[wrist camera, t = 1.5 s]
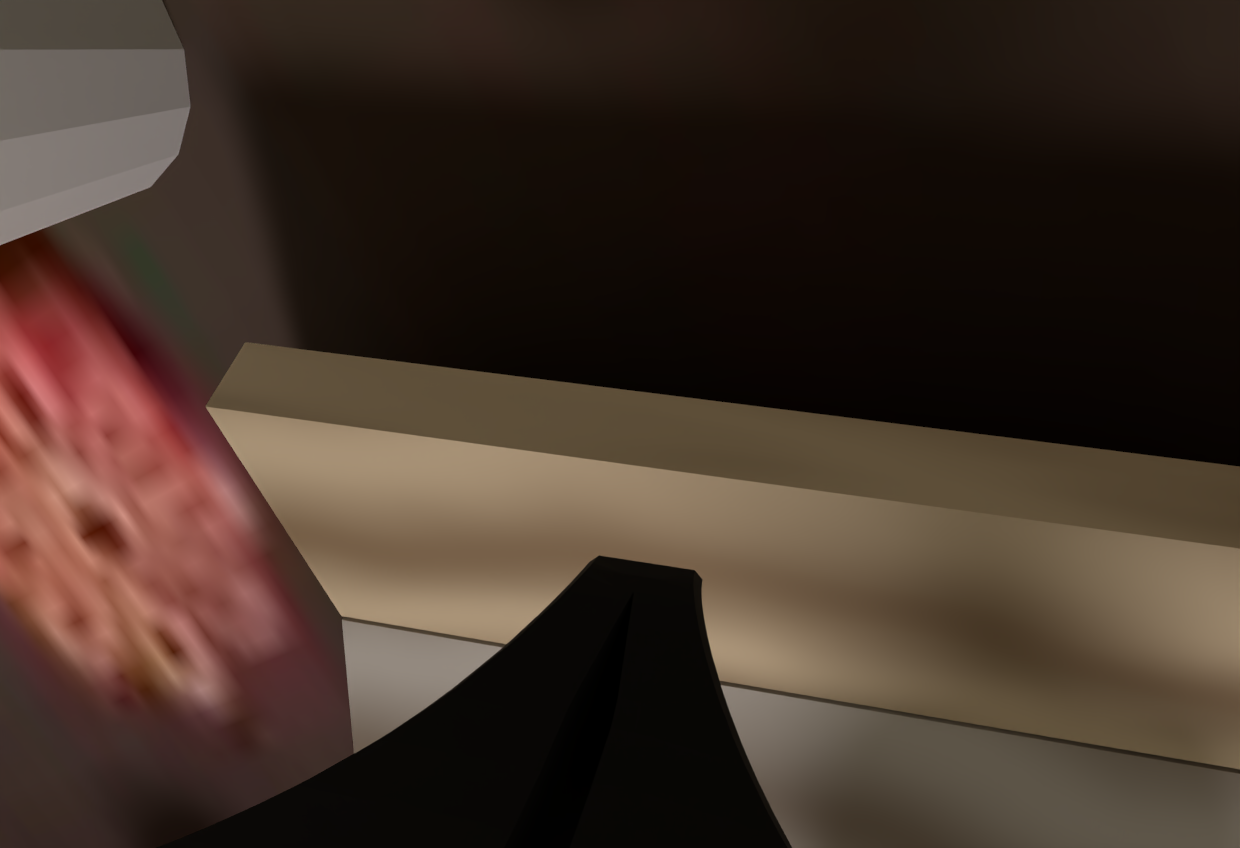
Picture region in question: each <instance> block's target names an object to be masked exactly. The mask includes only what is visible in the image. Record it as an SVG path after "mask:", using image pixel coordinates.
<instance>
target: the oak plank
mask: <svg viewBox="0 0 1240 848" xmlns="http://www.w3.org/2000/svg"><path fill="white" fill-rule="evenodd" d="M206 408H207V410H208V411H209V413H210V414H211V416H212V417H213V419H214V420H215V422H216V423H217V425H218V427H219V428H220V430H221V431H222V433H223V434H224V436H225V437H226V439H227V440H228V442H229V444H230V445H231V447H232V448H233V450H234V451H235V453H236V454H237V456H238V457H239V459H240V460H241V462H242V464H243V465H244V467H245V468H246V470H247V471H248V473H249V474H250V476H251V477H252V479H253V480H254V482H255V484H256V485H257V487H258V488H259V490H260V491H261V493H262V494H263V496H264V497H265V499H266V501H267V502H268V504H269V505H270V507H271V508H272V510H273V511H274V513H275V514H276V516H277V517H278V519H279V521H280V522H281V524H282V525H283V527H284V528H285V530H286V531H287V533H288V534H289V536H290V537H291V539H292V541H293V542H294V544H295V545H296V547H297V548H298V550H299V551H300V553H301V554H302V556H303V558H304V559H305V561H306V562H307V564H308V565H309V567H310V568H311V570H312V571H313V573H314V574H315V576H316V578H317V579H318V581H319V582H320V584H321V585H322V587H323V588H324V590H325V591H326V593H327V594H328V596H329V598H330V599H331V601H332V602H333V604H334V605H335V607H336V608H337V610H338V611H339V613H340V614H341V616H344V617H350V618H356V619H362V620H368V621H374V622H379V623H385V624H391V625H397V626H403V627H409V628H415V629H420V630H426V631H432V632H438V633H444V634H450V635H456V636H461V637H467V638H473V639H479V640H485V641H491V642H497V643H503V644H507V643H508V642H510V641H511V640H512V639H513V638H514V637H515V636H516V635H517V634H518V633H519V632H520V631H521V630H522V629H524V628H525V627H526V626H527V625H528V624H529V623H530V622H531V621H532V620H533V619H534V618H535V617H537V616H538V615H539V614H540V613H541V612H542V611H543V610H544V609H545V608H546V607H547V606H548V605H549V604H550V603H551V602H552V601H553V600H554V599H555V598H556V597H557V596H558V595H559V594H560V593H561V592H562V591H563V590H564V589H565V588H566V587H567V586H568V585H569V584H570V583H571V582H572V581H573V579H574V578H575V577H576V576H577V575H578V574H579V573H580V572H581V571H582V570H583V569H584V567H585V566H586V565H587V564H588V563H589V562H590V561H591V560H593V559H594V558H596V557H597V556H599V555H600V556H606V557H613V558H619V559H626V560H632V561H639V562H645V563H652V564H658V565H665V566H671V567H678V568H684V569H691V570H695V571H696V572H697V573H698V575H699V576H700V577H701V578H702V580H703V581H702V607H703V614H704V620H705V626H706V631H707V636H708V641H709V645H710V649H711V653H712V657H713V660H714V663H715V667H716V670H717V674H718V677H719V680H720V681H725V682H731V683H737V684H743V685H749V686H754V687H760V688H766V689H772V690H778V691H784V692H790V693H795V694H801V695H807V696H813V697H819V698H825V699H831V700H836V701H842V702H848V703H854V704H860V705H866V706H872V707H877V708H883V709H889V710H895V711H901V712H907V713H913V714H918V715H924V716H930V717H936V718H942V719H948V720H954V721H959V722H965V723H971V724H977V725H983V726H989V727H995V728H1000V729H1006V730H1012V731H1018V732H1024V733H1030V734H1036V735H1041V736H1047V737H1053V738H1059V739H1065V740H1071V741H1077V742H1082V743H1088V744H1094V745H1100V746H1106V747H1112V748H1118V749H1123V750H1129V751H1135V752H1141V753H1147V754H1153V755H1159V756H1164V757H1170V758H1176V759H1182V760H1188V761H1194V762H1200V763H1205V764H1211V765H1217V766H1223V767H1229V768H1235V769H1240V467H1239V466H1231V465H1223V464H1215V463H1207V462H1199V461H1191V460H1183V459H1175V458H1167V457H1159V456H1151V455H1143V454H1135V453H1127V452H1119V451H1111V450H1103V449H1095V448H1087V447H1079V446H1071V445H1063V444H1055V443H1047V442H1039V441H1031V440H1023V439H1015V438H1007V437H999V436H991V435H983V434H975V433H967V432H959V431H951V430H943V429H935V428H927V427H919V426H911V425H903V424H895V423H887V422H879V421H871V420H863V419H855V418H847V417H839V416H831V415H823V414H815V413H807V412H799V411H791V410H783V409H775V408H767V407H759V406H751V405H743V404H735V403H727V402H719V401H711V400H703V399H695V398H687V397H679V396H671V395H663V394H655V393H647V392H639V391H631V390H623V389H615V388H607V387H599V386H591V385H583V384H575V383H567V382H559V381H551V380H543V379H535V378H527V377H519V376H511V375H503V374H495V373H487V372H479V371H471V370H463V369H455V368H447V367H439V366H431V365H423V364H415V363H407V362H399V361H391V360H383V359H375V358H367V357H359V356H351V355H343V354H335V353H327V352H319V351H311V350H303V349H295V348H287V347H279V346H271V345H263V344H255V343H247V342H245V344H244V345H243V347H242V348H241V350H240V352H239V353H238V355H237V357H236V358H235V360H234V361H233V363H232V365H231V366H230V368H229V369H228V371H227V373H226V374H225V376H224V378H223V379H222V381H221V382H220V384H219V386H218V387H217V389H216V390H215V392H214V394H213V395H212V397H211V399H210V400H209V402H208V403H207V405H206Z"/></svg>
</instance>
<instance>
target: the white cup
mask: <svg viewBox="0 0 1240 848" xmlns="http://www.w3.org/2000/svg"><path fill="white" fill-rule="evenodd" d="M190 107H191V106H190V98H189V89H188V80H187V71H186V63H185V54H184V48H183V46H182V44H181V42H180V39H179V37H178V35H177V33H176V30H175V28H174V26H173V24H172V21H171V19H170V17H169V15H168V12H167V10H166V8H165V6H164V4H163V1H162V0H0V245H2V244H4V243H7V242H9V241H12V240H14V239H17V238H20V237H22V236H25V235H27V234H30V233H33V232H35V231H38V230H40V229H43V228H46V227H48V226H51V225H53V224H56V223H59V222H61V221H64V220H66V219H69V218H72V217H74V216H77V215H79V214H82V213H85V212H87V211H90V210H92V209H95V208H98V207H100V206H103V205H105V204H108V203H111V202H113V201H116V200H118V199H121V198H123V197H126V196H129V195H131V194H134V193H136V192H139V191H142V190H144V189H147V188H149V187H151V186H152V185H153V183H154V182H155V181H156V180H157V179H158V178H159V176H160V175H161V174H162V173H163V172H164V171H165V169H166V168H167V167H168V166H169V165H170V164H171V162H172V161H173V160H174V159H175V158H176V157H177V155H178V154H179V150H180V146H181V142H182V138H183V134H184V130H185V126H186V122H187V118H188V114H189V110H190Z"/></svg>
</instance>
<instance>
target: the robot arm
mask: <svg viewBox="0 0 1240 848" xmlns="http://www.w3.org/2000/svg"><path fill="white" fill-rule="evenodd" d="M702 581H703V580H702V578H701V577H700V576H699V575H698V573H697V572H696V571H695V570H691V569H684V568H678V567H671V566H665V565H658V564H652V563H645V562H639V561H632V560H626V559H619V558H613V557H606V556H600V555H599V556H597V557H596V558H594V559H593V560H591V561H590V562H589V563H588V564H587V565H586V566H585V567H584V569H583V570H582V571H581V572H580V573H579V574H578V575H577V576H576V577H575V578H574V579H573V581H572V582H571V583H570V584H569V585H568V586H567V587H566V588H565V589H564V590H563V591H562V592H561V593H560V594H559V595H558V596H557V597H556V598H555V599H554V600H553V601H552V602H551V603H550V604H549V605H548V606H547V607H546V608H545V609H544V610H543V611H542V612H541V613H540V614H539V615H538V616H537V617H535V618H534V619H533V620H532V621H531V622H530V623H529V624H528V625H527V626H526V627H525V628H524V629H522V630H521V631H520V632H519V633H518V634H517V635H516V636H515V637H514V638H513V639H512V640H511V641H510V642H508V643H507V644H506V645H505V646H504V647H503V648H502V649H500V650H499V651H498V652H497V653H496V654H494V655H493V656H492V657H491V658H489V659H488V660H487V661H486V662H485V663H483V664H482V665H481V666H480V667H478V668H477V669H476V670H475V671H474V672H472V673H471V674H470V675H469V676H467V677H466V678H465V679H464V680H462V681H461V682H460V683H459V684H458V685H456V686H455V687H454V688H452V689H451V690H450V691H448V692H447V693H446V694H444V695H443V696H442V697H440V698H439V699H438V700H436V701H435V702H433V703H432V704H431V705H429V706H428V707H426V708H425V709H424V710H422V711H421V712H419V713H418V714H416V715H415V716H413V717H412V718H410V719H409V720H407V721H406V722H404V723H403V724H401V725H400V726H398V727H397V728H396V729H394V730H393V731H391V732H389V733H388V734H386V735H385V736H383V737H381V738H380V739H378V740H376V741H375V742H373V743H371V744H370V745H368V746H366V747H365V748H363V749H361V750H360V751H358V752H356V753H354V754H353V755H351V756H349V757H347V758H346V759H344V760H342V761H340V762H339V763H337V764H335V765H333V766H331V767H330V768H328V769H326V770H324V771H323V772H321V773H319V774H317V775H315V776H314V777H312V778H310V779H308V780H306V781H304V782H302V783H301V784H299V785H297V786H295V787H293V788H291V789H289V790H286V791H284V792H282V793H280V794H278V795H276V796H274V797H272V798H270V799H268V800H266V801H264V802H262V803H260V804H258V805H256V806H253V807H251V808H249V809H247V810H245V811H242V812H240V813H238V814H236V815H234V816H231V817H229V818H227V819H225V820H223V821H220V822H218V823H216V824H214V825H211V826H209V827H207V828H204V829H202V830H200V831H197V832H195V833H193V834H190V835H188V836H185V837H183V838H181V839H178V840H175V841H173V842H170V843H168V844H165V845H162V846H160V847H157V848H792V846H791V844H790V843H789V841H788V839H787V837H786V835H785V833H784V831H783V829H782V828H781V826H780V824H779V822H778V820H777V818H776V816H775V814H774V813H773V811H772V809H771V807H770V804H769V802H768V800H767V798H766V796H765V794H764V792H763V790H762V788H761V786H760V784H759V782H758V780H757V777H756V775H755V773H754V771H753V769H752V766H751V764H750V762H749V759H748V757H747V755H746V752H745V750H744V747H743V745H742V743H741V740H740V737H739V735H738V732H737V730H736V727H735V724H734V722H733V719H732V717H731V714H730V711H729V708H728V705H727V702H726V699H725V697H724V694H723V691H722V687H721V684H720V680H719V677H718V674H717V670H716V667H715V663H714V660H713V657H712V653H711V649H710V645H709V641H708V636H707V631H706V626H705V620H704V614H703V607H702Z"/></svg>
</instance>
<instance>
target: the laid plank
mask: <svg viewBox="0 0 1240 848" xmlns="http://www.w3.org/2000/svg"><path fill="white" fill-rule="evenodd" d="M342 626H343V637H344V648H345V659H346V670H347V681H348V692H349V703H350V714H351V725H352V736H353V747H354V753H356V752H358V751H360V750H361V749H363V748H365V747H366V746H368V745H370V744H371V743H373V742H375V741H376V740H378V739H380V738H381V737H383V736H385V735H386V734H388V733H389V732H391V731H393V730H394V729H396V728H397V727H398V726H400V725H401V724H403V723H404V722H406V721H407V720H409V719H410V718H412V717H413V716H415V715H416V714H418V713H419V712H421V711H422V710H424V709H425V708H426V707H428V706H429V705H431V704H432V703H433V702H435V701H436V700H438V699H439V698H440V697H442V696H443V695H444V694H446V693H447V692H448V691H450V690H451V689H452V688H454V687H455V686H456V685H458V684H459V683H460V682H461V681H462V680H464V679H465V678H466V677H467V676H469V675H470V674H471V673H472V672H474V671H475V670H476V669H477V668H478V667H480V666H481V665H482V664H483V663H485V662H486V661H487V660H488V659H489V658H491V657H492V656H493V655H494V654H496V653H497V652H498V651H499V650H500V649H502V648H503V647H504V646H505V645H506V644H503V643H497V642H491V641H485V640H479V639H473V638H467V637H461V636H456V635H450V634H444V633H438V632H432V631H426V630H420V629H415V628H409V627H403V626H397V625H391V624H385V623H379V622H374V621H368V620H362V619H356V618H350V617H344V618H343V619H342ZM720 684H721V687H722V691H723V694H724V697H725V699H726V702H727V705H728V708H729V711H730V714H731V717H732V719H733V722H734V724H735V727H736V730H737V732H738V735H739V737H740V740H741V743H742V745H743V747H744V750H745V752H746V755H747V757H748V759H749V762H750V764H751V766H752V769H753V771H754V773H755V775H756V777H757V780H758V782H759V784H760V786H761V788H762V790H763V792H764V794H765V796H766V798H767V800H768V802H769V804H770V807H771V809H772V811H773V813H774V814H775V816H776V818H777V820H778V822H779V824H780V826H781V828H782V829H783V831H784V833H785V835H786V837H787V839H788V841H789V843H790V844H791V846H792V848H1240V769H1235V768H1229V767H1223V766H1217V765H1211V764H1205V763H1200V762H1194V761H1188V760H1182V759H1176V758H1170V757H1164V756H1159V755H1153V754H1147V753H1141V752H1135V751H1129V750H1123V749H1118V748H1112V747H1106V746H1100V745H1094V744H1088V743H1082V742H1077V741H1071V740H1065V739H1059V738H1053V737H1047V736H1041V735H1036V734H1030V733H1024V732H1018V731H1012V730H1006V729H1000V728H995V727H989V726H983V725H977V724H971V723H965V722H959V721H954V720H948V719H942V718H936V717H930V716H924V715H918V714H913V713H907V712H901V711H895V710H889V709H883V708H877V707H872V706H866V705H860V704H854V703H848V702H842V701H836V700H831V699H825V698H819V697H813V696H807V695H801V694H795V693H790V692H784V691H778V690H772V689H766V688H760V687H754V686H749V685H743V684H737V683H731V682H725V681H720Z"/></svg>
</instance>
